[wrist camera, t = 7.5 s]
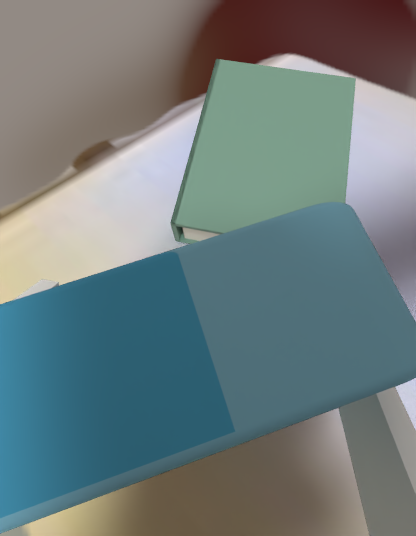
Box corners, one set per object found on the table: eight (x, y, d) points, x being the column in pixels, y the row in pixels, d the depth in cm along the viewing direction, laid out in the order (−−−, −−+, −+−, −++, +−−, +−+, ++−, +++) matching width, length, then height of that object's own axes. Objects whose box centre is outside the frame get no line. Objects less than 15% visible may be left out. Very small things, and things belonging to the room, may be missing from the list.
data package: (280, 295, 19) (371, 182, 8) (311, 368, 18) (476, 359, 6) (90, 359, 18) (-117, 336, 7) (107, 441, 17) (-120, 581, 6)
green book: (340, 110, 34) (355, 78, 31) (323, 270, 29) (340, 254, 25) (216, 92, 36) (216, 58, 32) (176, 242, 30) (170, 222, 26)
